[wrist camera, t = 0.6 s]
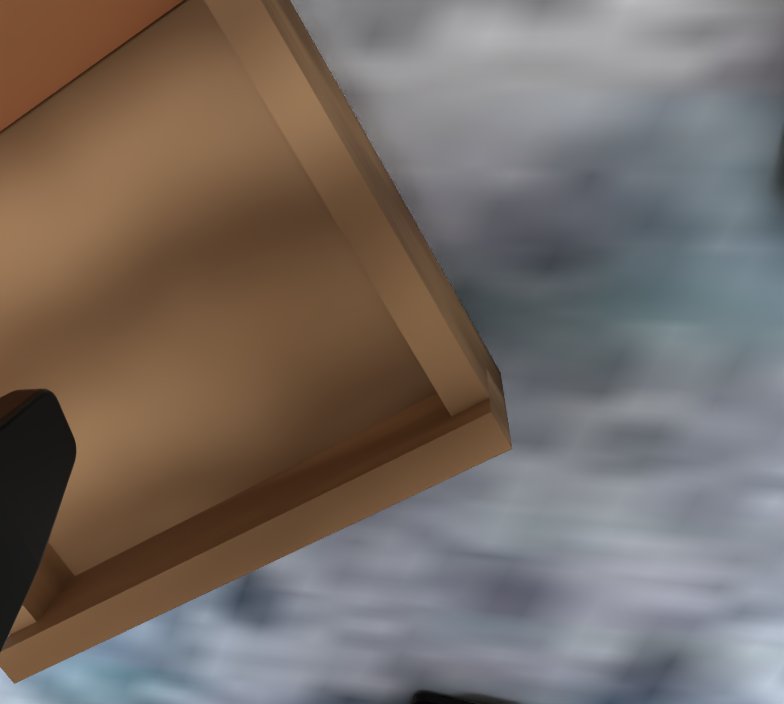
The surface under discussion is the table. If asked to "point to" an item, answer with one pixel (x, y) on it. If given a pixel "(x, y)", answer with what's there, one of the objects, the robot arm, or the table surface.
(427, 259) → the brown shallow open box
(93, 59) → the tailgate
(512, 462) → the table surface
